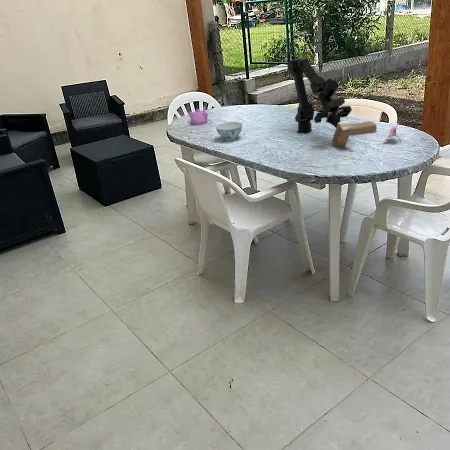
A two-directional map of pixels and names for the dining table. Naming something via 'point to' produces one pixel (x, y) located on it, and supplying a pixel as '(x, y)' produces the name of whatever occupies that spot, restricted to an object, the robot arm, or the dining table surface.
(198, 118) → the teapot
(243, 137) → the dining table surface
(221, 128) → the chinaware
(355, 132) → the brick
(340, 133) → the walnut block
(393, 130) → the lily
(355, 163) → the dining table surface
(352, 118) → the dining table surface
